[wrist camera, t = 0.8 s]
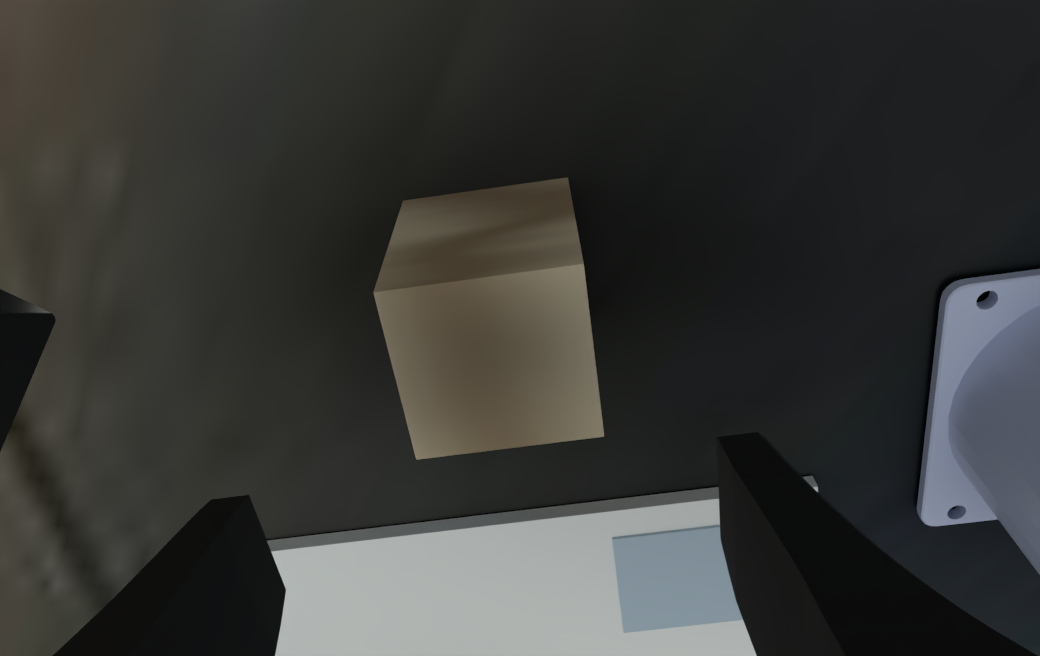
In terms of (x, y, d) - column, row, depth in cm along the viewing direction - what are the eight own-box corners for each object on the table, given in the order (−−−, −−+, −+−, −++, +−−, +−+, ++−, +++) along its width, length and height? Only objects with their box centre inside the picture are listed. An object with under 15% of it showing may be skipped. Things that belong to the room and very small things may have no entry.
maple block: (567, 176, 20) (583, 263, 16) (585, 322, 22) (604, 436, 17) (403, 200, 20) (373, 292, 16) (434, 341, 22) (416, 459, 18)
